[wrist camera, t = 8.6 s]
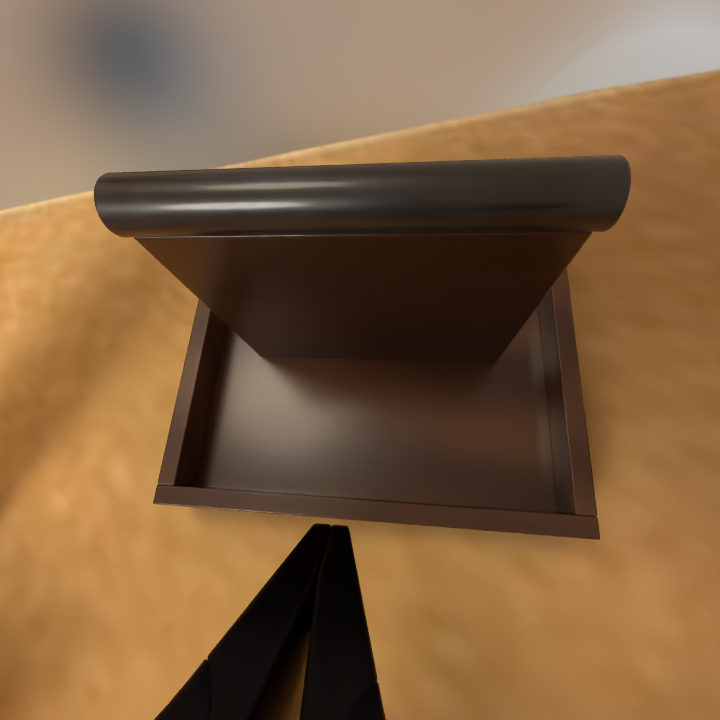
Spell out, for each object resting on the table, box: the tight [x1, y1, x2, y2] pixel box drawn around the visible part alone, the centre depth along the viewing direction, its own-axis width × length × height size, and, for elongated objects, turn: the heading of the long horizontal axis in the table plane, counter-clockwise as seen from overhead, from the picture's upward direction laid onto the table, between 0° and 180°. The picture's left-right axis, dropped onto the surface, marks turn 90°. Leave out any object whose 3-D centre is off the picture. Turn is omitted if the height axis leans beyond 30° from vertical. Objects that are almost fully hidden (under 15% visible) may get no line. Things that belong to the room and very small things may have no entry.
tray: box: [94, 155, 631, 540], centre depth 14 cm, size 16×18×12 cm
